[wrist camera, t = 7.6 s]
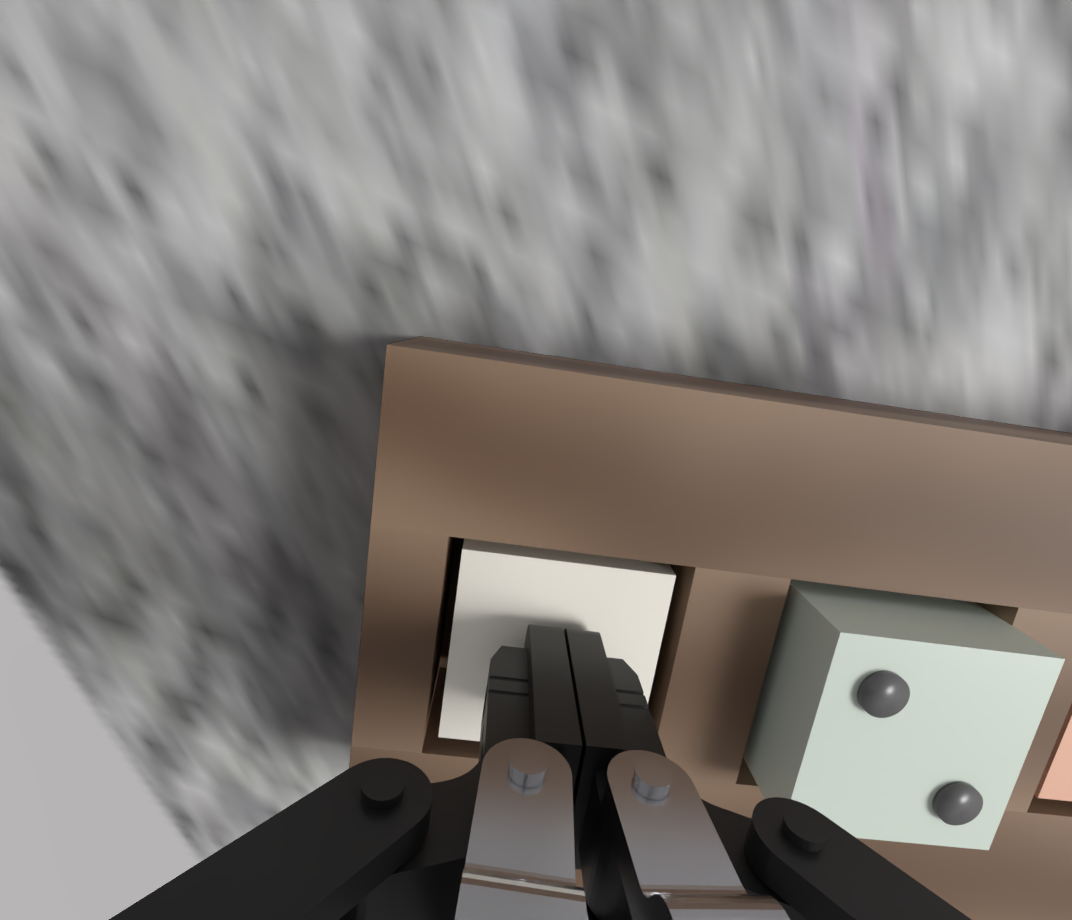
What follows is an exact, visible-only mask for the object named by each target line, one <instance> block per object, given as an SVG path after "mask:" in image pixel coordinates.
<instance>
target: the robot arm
mask: <svg viewBox="0 0 1072 920" xmlns="http://www.w3.org/2000/svg"><path fill="white" fill-rule="evenodd" d="M643 693H644V692H643V689H642V686H641V683H640V680H639V677H638V675H637V674H636V673H635V672H634V671H633V669H632V668H631V667H630V666H629V665H628V664H627V663H626V662H625V661H624V660H623V659H618V658H609V657H607V656H606V653H605V649H604V646H603V642H602V638H601V635H600V633H599V632H594V631H585V630H576V629H568V628H565V629H564V630H563V628H558V627H549V626H541V625H532V624H529V625H528V627H527V632H526V637H525V644H524V648H519V647H510V646H501V647H500V648H499V649H498V651H497V652H496V653H495V654H494V655H493V657H492V658H491V660H490V666H489V673H488V680H487V687H486V694H485V701H484V707H483V714H482V721H481V732H480V746H479V760H478V764H477V765H476V766H475V767H474V768H473V769H471V770H470V771H469V772H467V773H465V774H463V775H462V776H459V777H457V778H454V779H451V780H446V781H441V782H436V783H430V781H429V778H428V777H427V776H426V774H425V773H424V772H423V771H422V770H421V769H420V768H418V767H417V766H415V765H414V764H411V763H409V762H407V761H404V760H400V759H394V758H377V759H371V760H367V761H364V762H361V763H359V764H357V765H355V766H353V767H351V768H349V769H348V770H346V771H345V772H343V773H341V774H340V775H338V776H337V777H335V778H333V779H332V780H330V781H329V782H327V783H325V784H324V785H322V786H321V787H319V788H318V789H316V790H314V791H313V792H311V793H310V794H308V795H306V796H305V797H303V798H302V799H300V800H298V801H297V802H295V803H294V804H292V805H290V806H289V807H287V808H286V809H284V810H283V811H281V812H279V813H278V814H276V815H275V816H273V817H271V818H270V819H268V820H267V821H265V822H263V823H262V824H260V825H259V826H257V827H256V828H254V829H252V830H251V831H249V832H248V833H246V834H244V835H243V836H241V837H240V838H238V839H236V840H235V841H233V842H232V843H230V844H228V845H227V846H225V847H224V848H222V849H221V850H219V851H217V852H216V853H214V854H213V855H211V856H209V857H208V858H206V859H205V860H203V861H201V862H200V863H198V864H197V865H195V866H193V867H192V868H190V869H189V870H187V871H186V872H184V873H182V874H181V875H179V876H178V877H176V878H175V879H173V880H171V881H170V882H168V883H166V884H165V885H163V886H162V887H160V888H159V889H157V890H156V891H154V892H152V893H151V894H149V895H147V896H146V897H144V898H143V899H141V900H139V901H138V902H136V903H135V904H133V905H132V906H130V907H128V908H127V909H125V910H124V911H122V912H120V913H119V914H117V915H116V916H114V917H112V918H111V919H109V920H971V919H970V918H969V917H967V916H966V915H964V914H963V913H961V912H960V911H959V910H957V909H956V908H954V907H953V906H952V905H950V904H949V903H947V902H946V901H945V900H943V899H942V898H940V897H939V896H937V895H936V894H935V893H933V892H932V891H930V890H929V889H928V888H926V887H925V886H923V885H922V884H921V883H919V882H918V881H916V880H915V879H913V878H912V877H911V876H909V875H908V874H906V873H905V872H904V871H902V870H901V869H899V868H898V867H896V866H895V865H894V864H892V863H891V862H889V861H888V860H887V859H885V858H884V857H882V856H881V855H880V854H878V853H877V852H875V851H874V850H872V849H871V848H870V847H868V846H867V845H865V844H864V843H863V842H861V841H860V840H858V839H857V838H856V837H854V836H853V835H851V834H850V833H848V832H847V831H846V830H844V829H843V828H841V827H840V826H839V825H837V824H836V823H834V822H833V821H831V820H830V819H829V818H827V817H826V816H824V815H823V814H821V813H820V812H818V811H817V810H815V809H813V808H811V807H810V806H808V805H806V804H803V803H801V802H798V801H795V800H792V799H787V798H781V797H773V798H767V799H764V800H762V801H760V802H759V803H758V804H757V805H756V806H755V808H754V810H753V813H752V817H751V818H749V817H746V816H743V815H740V814H737V813H735V812H732V811H729V810H726V809H723V808H720V807H718V806H715V805H713V804H710V803H708V802H706V801H705V800H703V799H701V798H700V796H699V794H698V792H697V790H696V787H695V785H694V783H693V782H692V780H691V778H690V777H689V776H688V774H687V773H686V772H685V771H684V770H683V769H682V768H681V767H680V766H679V765H677V764H676V763H675V762H673V761H671V760H670V759H668V758H666V755H665V752H664V749H663V746H662V743H661V740H660V737H659V735H658V732H657V729H656V726H655V723H654V720H653V717H652V715H651V712H650V710H648V707H649V706H648V703H647V700H646V697H645V695H643ZM575 869H580V870H581V871H582V879H583V888H582V887H576V880H575Z"/></svg>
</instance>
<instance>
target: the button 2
mask: <svg viewBox="0 0 1072 920" xmlns="http://www.w3.org/2000/svg"><path fill="white" fill-rule="evenodd" d="M1064 661H1065V659H1064V658H1063V657H1061V656H1060V655H1058V654H1056V653H1055V652H1053V651H1052V650H1050V649H1048V648H1047V647H1045V646H1044V645H1042V644H1040V643H1039V642H1037V641H1036V640H1034V639H1032V638H1031V637H1029V636H1028V635H1026V634H1024V633H1023V632H1021V631H1020V630H1018V629H1016V628H1015V627H1013V626H1012V625H1010V624H1008V623H1007V622H1005V621H1004V620H1002V619H1000V618H999V617H997V616H996V615H994V614H992V613H991V612H989V611H988V610H986V609H984V608H983V607H981V606H980V605H978V604H976V603H975V602H970V601H962V600H954V599H946V598H938V597H930V596H922V595H914V594H906V593H898V592H890V591H882V590H874V589H866V588H858V587H850V586H842V585H834V584H826V583H818V582H810V581H802V580H794V579H791V581H790V585H789V588H788V592H787V596H786V600H785V603H784V607H783V611H782V614H781V618H780V622H779V625H778V629H777V633H776V637H775V640H774V644H773V648H772V651H771V655H770V659H769V663H768V666H767V670H766V674H765V677H764V681H763V685H762V688H761V692H760V696H759V700H758V703H757V707H756V711H755V714H754V718H753V722H752V726H751V729H750V733H749V737H748V740H747V744H746V748H745V752H744V755H743V758H744V760H745V762H746V764H747V766H748V768H749V770H750V772H751V773H752V775H753V777H754V779H755V781H756V783H757V785H758V787H759V789H760V791H761V793H762V795H763V797H764V798H765V799H767V798H773V797H781V798H787V799H792V800H795V801H798V802H801V803H803V804H806V805H808V806H810V807H811V808H813V809H815V810H817V811H818V812H820V813H821V814H823V815H824V816H826V817H827V818H829V819H830V820H831V821H833V822H834V823H836V824H837V825H839V826H840V827H841V828H843V829H844V830H846V831H847V832H848V833H850V834H851V835H853V836H854V837H856V838H862V839H873V840H884V841H894V842H905V843H916V844H927V845H937V846H948V847H959V848H970V849H981V850H989V848H990V846H991V843H992V841H993V838H994V836H995V833H996V831H997V828H998V826H999V823H1000V821H1001V818H1002V816H1003V813H1004V811H1005V808H1006V806H1007V803H1008V801H1009V798H1010V796H1011V793H1012V791H1013V788H1014V786H1015V783H1016V781H1017V778H1018V776H1019V773H1020V771H1021V768H1022V766H1023V763H1024V761H1025V759H1026V756H1027V754H1028V751H1029V749H1030V746H1031V744H1032V741H1033V739H1034V736H1035V734H1036V731H1037V729H1038V726H1039V724H1040V721H1041V719H1042V716H1043V714H1044V711H1045V709H1046V706H1047V704H1048V701H1049V699H1050V696H1051V694H1052V691H1053V689H1054V686H1055V684H1056V681H1057V679H1058V676H1059V674H1060V671H1061V669H1062V666H1063V664H1064Z"/></svg>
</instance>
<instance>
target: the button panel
mask: <svg viewBox="0 0 1072 920" xmlns="http://www.w3.org/2000/svg"><path fill="white" fill-rule="evenodd" d="M464 538H465V539H473V540H481V541H489V542H497V543H505V544H513V545H521V546H529V547H537V548H545V549H553V550H561V551H569V552H577V553H585V554H593V555H601V556H609V557H617V558H625V559H633V560H641V561H649V562H657V563H665V564H669V565H670V566H671V568H672V570H673V571H674V573H675V574H676V579H675V583H674V588H673V592H672V597H671V602H670V606H669V611H668V615H667V620H666V624H665V629H664V633H663V638H662V642H661V647H660V651H659V656H658V661H657V665H656V670H655V674H654V679H653V683H652V688H651V692H650V697H649V701H648V706H649V707H648V710H650V712H651V715H652V717H653V720H654V723H655V726H656V729H657V732H658V735H659V737H660V740H661V743H662V746H663V749H664V752H665V755H666V758H668V759H670V760H671V761H673V762H675V763H676V764H677V765H679V766H680V767H681V768H682V769H683V770H684V771H685V772H686V773H687V774H688V776H689V777H690V778H691V780H692V782H693V783H694V785H695V787H696V790H697V792H698V794H699V796H700V798H701V799H703V800H705V801H706V802H708V803H710V804H713V805H715V806H718V807H720V808H723V809H726V810H729V811H732V812H735V813H737V814H740V815H743V816H746V817H749V818H751V817H752V813H753V810H754V808H755V806H756V805H757V804H758V803H759V802H760V801H762V800H764V799H765V798H764V797H763V795H762V793H761V791H760V789H759V787H758V785H757V783H756V781H755V779H754V777H753V775H752V773H751V772H750V770H749V768H748V766H747V764H746V762H745V760H744V758H743V755H744V752H745V748H746V744H747V740H748V737H749V733H750V729H751V726H752V722H753V718H754V714H755V711H756V707H757V703H758V700H759V696H760V692H761V688H762V685H763V681H764V677H765V674H766V670H767V666H768V663H769V659H770V655H771V651H772V648H773V644H774V640H775V637H776V633H777V629H778V625H779V622H780V618H781V614H782V611H783V607H784V603H785V600H786V596H787V592H788V588H789V585H790V581H791V579H794V580H802V581H810V582H818V583H826V584H834V585H842V586H850V587H858V588H866V589H874V590H882V591H890V592H898V593H906V594H914V595H922V596H930V597H938V598H946V599H954V600H962V601H970V602H975V603H976V604H978V605H980V606H981V607H983V608H984V609H986V610H988V611H989V612H991V613H992V614H994V615H996V616H997V617H999V618H1000V619H1002V620H1004V621H1005V622H1007V623H1008V624H1010V625H1012V626H1013V627H1015V628H1016V629H1018V630H1020V631H1021V632H1023V633H1024V634H1026V635H1028V636H1029V637H1031V638H1032V639H1034V640H1036V641H1037V642H1039V643H1040V644H1042V645H1044V646H1045V647H1047V648H1048V649H1050V650H1052V651H1053V652H1055V653H1056V654H1058V655H1060V656H1061V657H1063V658H1064V659H1065V661H1064V664H1063V666H1062V669H1061V671H1060V674H1059V676H1058V679H1057V681H1056V684H1055V686H1054V689H1053V691H1052V694H1051V696H1050V699H1049V701H1048V704H1047V706H1046V709H1045V711H1044V714H1043V716H1042V719H1041V721H1040V724H1039V726H1038V729H1037V731H1036V734H1035V736H1034V739H1033V741H1032V744H1031V746H1030V749H1029V751H1028V754H1027V756H1026V759H1025V761H1024V763H1023V766H1022V768H1021V771H1020V773H1019V776H1018V778H1017V781H1016V783H1015V786H1014V788H1013V791H1012V793H1011V796H1010V798H1009V801H1008V803H1007V806H1006V808H1005V811H1004V813H1003V816H1002V818H1001V821H1000V823H999V826H998V828H997V831H996V833H995V836H994V838H993V841H992V843H991V846H990V848H989V850H981V849H970V848H959V847H948V846H937V845H927V844H916V843H905V842H894V841H884V840H873V839H862V838H857V839H858V840H860V841H861V842H863V843H864V844H865V845H867V846H868V847H870V848H871V849H872V850H874V851H875V852H877V853H878V854H880V855H881V856H882V857H884V858H885V859H887V860H888V861H889V862H891V863H892V864H894V865H895V866H896V867H898V868H899V869H901V870H902V871H904V872H905V873H906V874H908V875H909V876H911V877H912V878H913V879H915V880H916V881H918V882H919V883H921V884H922V885H923V886H925V887H926V888H928V889H929V890H930V891H932V892H933V893H935V894H936V895H937V896H939V897H940V898H942V899H943V900H945V901H946V902H947V903H949V904H950V905H952V906H953V907H954V908H956V909H957V910H959V911H960V912H961V913H963V914H964V915H966V916H967V917H969V918H970V919H971V920H1072V801H1063V800H1053V799H1043V798H1037V797H1036V796H1035V795H1034V794H1035V791H1036V789H1037V786H1038V784H1039V781H1040V779H1041V776H1042V774H1043V772H1044V769H1045V767H1046V764H1047V762H1048V759H1049V757H1050V755H1051V752H1052V750H1053V747H1054V745H1055V742H1056V740H1057V738H1058V735H1059V733H1060V730H1061V728H1062V725H1063V723H1064V721H1065V718H1066V716H1067V713H1068V711H1069V708H1070V706H1071V704H1072V433H1067V432H1060V431H1053V430H1046V429H1040V428H1033V427H1026V426H1019V425H1013V424H1006V423H999V422H993V421H986V420H979V419H972V418H966V417H959V416H952V415H946V414H939V413H932V412H925V411H919V410H912V409H905V408H898V407H892V406H885V405H878V404H872V403H865V402H858V401H851V400H845V399H838V398H831V397H824V396H818V395H811V394H804V393H798V392H791V391H784V390H777V389H771V388H764V387H757V386H750V385H744V384H737V383H730V382H724V381H717V380H710V379H703V378H697V377H690V376H683V375H677V374H670V373H663V372H656V371H650V370H643V369H636V368H629V367H623V366H616V365H609V364H603V363H596V362H589V361H582V360H576V359H569V358H562V357H555V356H549V355H542V354H535V353H529V352H522V351H515V350H508V349H502V348H495V347H488V346H481V345H475V344H468V343H461V342H455V341H448V340H441V339H434V338H428V337H421V336H420V337H416V338H412V339H408V340H403V341H399V342H395V343H391V344H387V346H386V358H385V369H384V380H383V392H382V403H381V414H380V426H379V437H378V448H377V459H376V471H375V482H374V493H373V505H372V516H371V527H370V539H369V550H368V561H367V573H366V584H365V595H364V607H363V618H362V629H361V641H360V652H359V663H358V674H357V686H356V697H355V708H354V720H353V731H352V742H351V754H350V765H349V768H351V767H353V766H355V765H357V764H359V763H361V762H364V761H367V760H371V759H377V758H394V759H400V760H404V761H407V762H409V763H411V764H414V765H415V766H417V767H418V768H420V769H421V770H422V771H423V772H424V773H425V774H426V776H427V777H428V778H429V781H430V783H436V782H441V781H446V780H451V779H454V778H457V777H459V776H462V775H463V774H465V773H467V772H469V771H470V770H471V769H473V768H474V767H475V766H476V765H477V764H478V760H479V746H480V741H471V740H461V739H451V738H441V737H438V735H439V727H440V719H441V711H442V703H443V695H444V688H445V680H446V672H447V664H448V656H449V649H450V641H451V633H452V625H453V617H454V609H455V602H456V594H457V586H458V578H459V570H460V562H461V555H462V548H463V543H464ZM575 880H576V887H582V888H583V879H582V871H581V870H580V869H575Z"/></svg>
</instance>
